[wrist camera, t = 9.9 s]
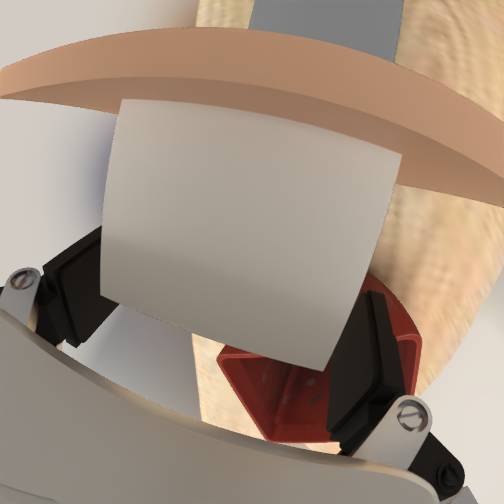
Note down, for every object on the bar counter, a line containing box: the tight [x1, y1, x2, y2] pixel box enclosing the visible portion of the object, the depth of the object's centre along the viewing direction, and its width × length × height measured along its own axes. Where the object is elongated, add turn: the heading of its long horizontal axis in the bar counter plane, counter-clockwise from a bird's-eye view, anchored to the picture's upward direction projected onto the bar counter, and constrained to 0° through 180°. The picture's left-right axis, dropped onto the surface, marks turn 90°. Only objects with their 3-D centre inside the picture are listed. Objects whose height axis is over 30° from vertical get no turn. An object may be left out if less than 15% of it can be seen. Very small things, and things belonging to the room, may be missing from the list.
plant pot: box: [216, 273, 422, 443], centre depth 33 cm, size 19×19×17 cm
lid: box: [0, 27, 504, 371], centre depth 14 cm, size 22×12×6 cm
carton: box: [248, 0, 404, 63], centre depth 21 cm, size 22×13×8 cm, turn 169°
